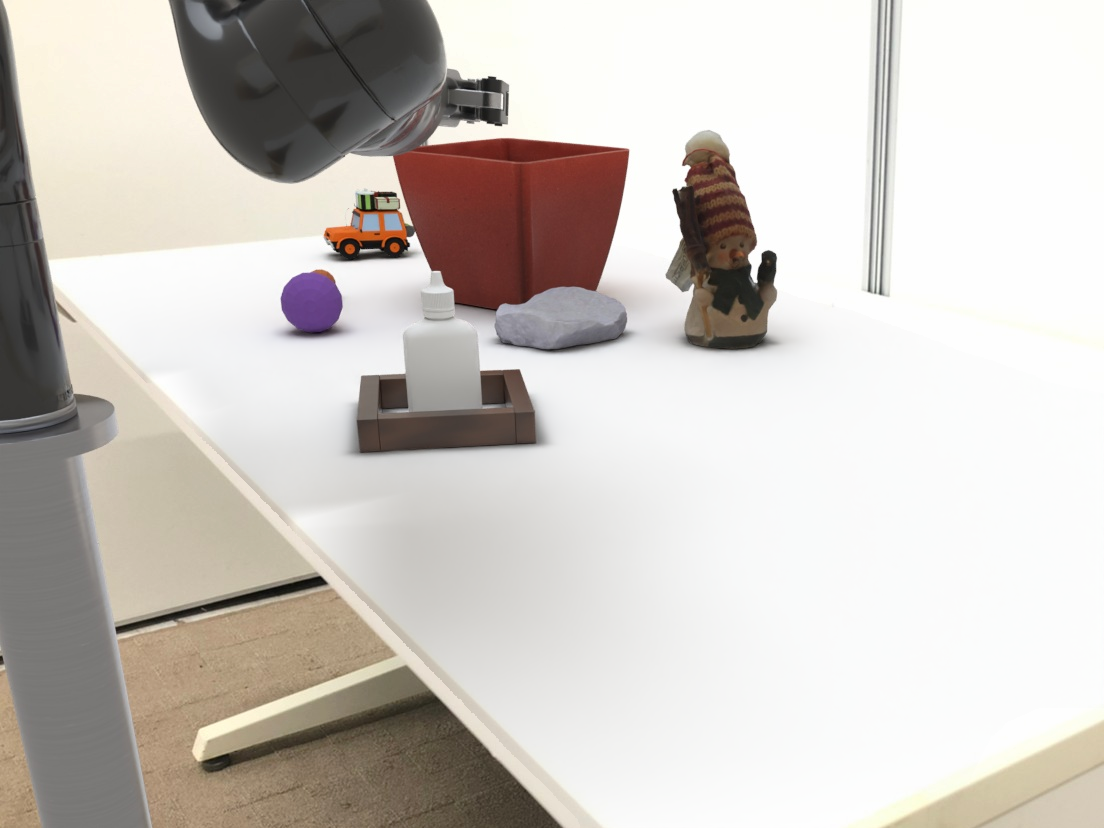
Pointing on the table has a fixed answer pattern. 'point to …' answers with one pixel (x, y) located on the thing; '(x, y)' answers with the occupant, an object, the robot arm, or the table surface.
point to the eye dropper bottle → (441, 355)
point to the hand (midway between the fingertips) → (402, 97)
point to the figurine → (719, 252)
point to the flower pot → (513, 214)
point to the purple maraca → (312, 301)
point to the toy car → (372, 227)
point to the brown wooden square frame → (444, 416)
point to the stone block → (561, 319)
